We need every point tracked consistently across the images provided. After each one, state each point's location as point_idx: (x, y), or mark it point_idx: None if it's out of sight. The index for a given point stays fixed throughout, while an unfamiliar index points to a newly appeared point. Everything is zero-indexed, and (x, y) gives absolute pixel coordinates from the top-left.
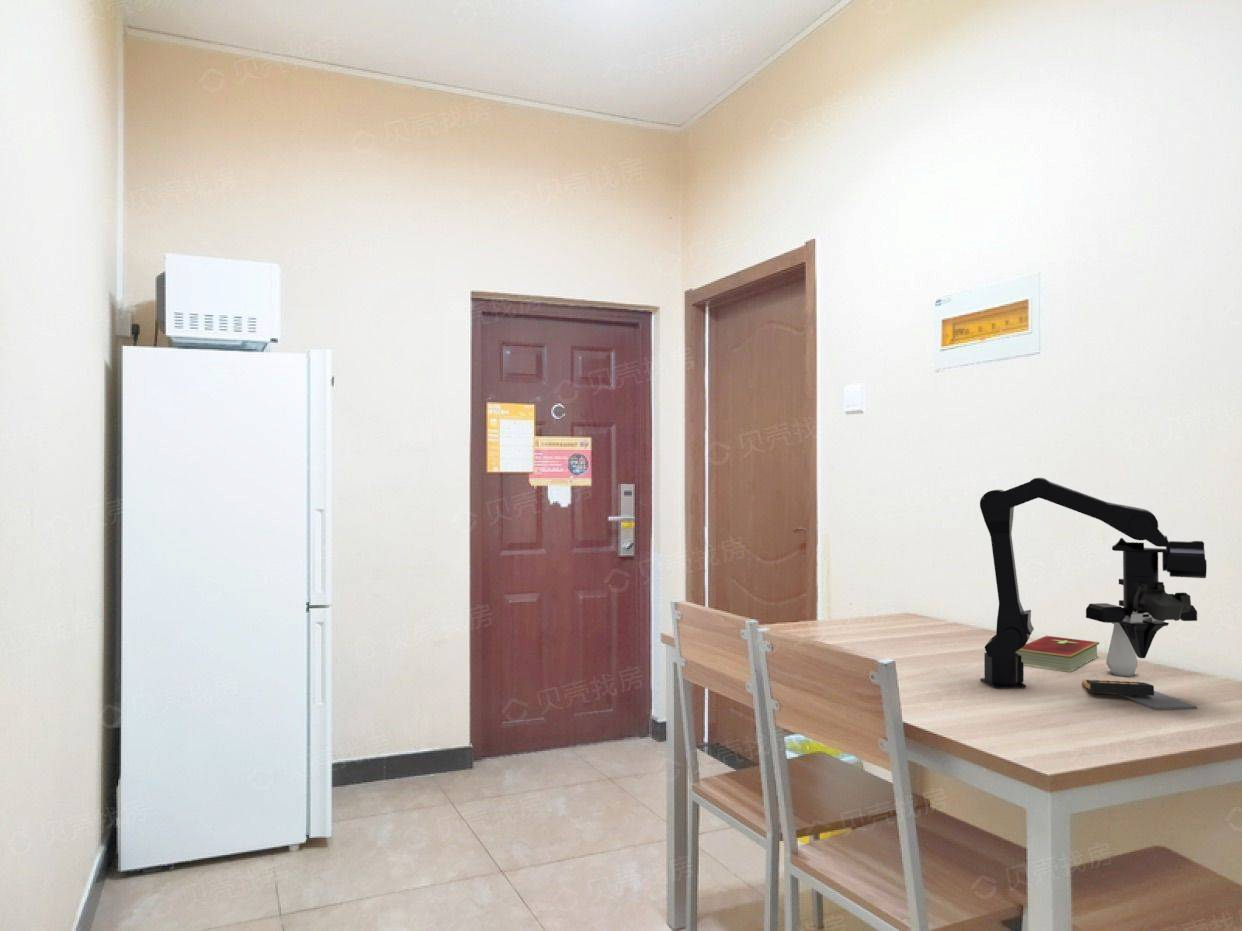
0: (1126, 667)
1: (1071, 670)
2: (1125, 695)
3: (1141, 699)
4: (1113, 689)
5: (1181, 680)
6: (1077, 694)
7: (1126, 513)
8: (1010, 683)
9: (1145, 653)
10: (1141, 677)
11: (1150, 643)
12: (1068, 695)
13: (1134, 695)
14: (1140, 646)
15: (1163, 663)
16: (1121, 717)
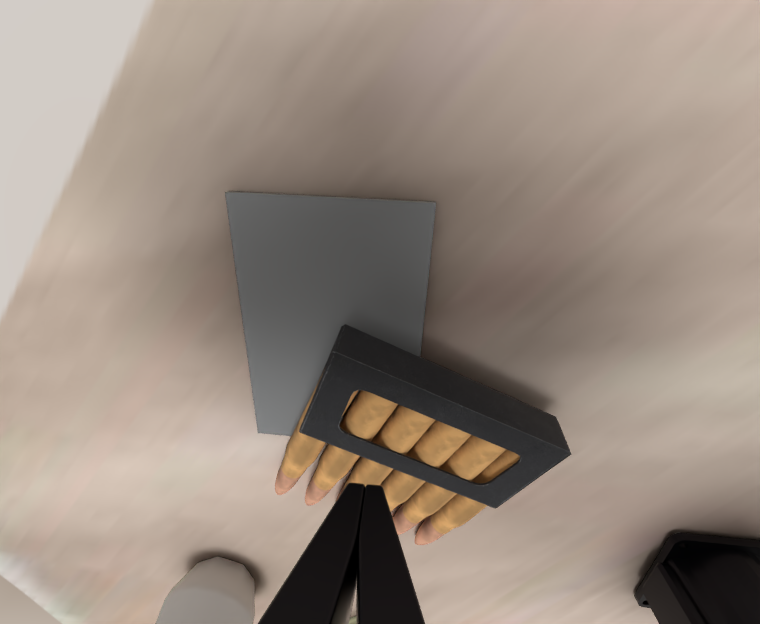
0: (217, 586)
1: (350, 620)
2: None
3: (396, 329)
4: (487, 399)
5: (82, 502)
6: None
7: None
8: (742, 557)
9: (346, 511)
10: (187, 543)
11: (280, 605)
12: (608, 441)
13: None
14: (404, 584)
15: (52, 614)
16: (743, 92)
